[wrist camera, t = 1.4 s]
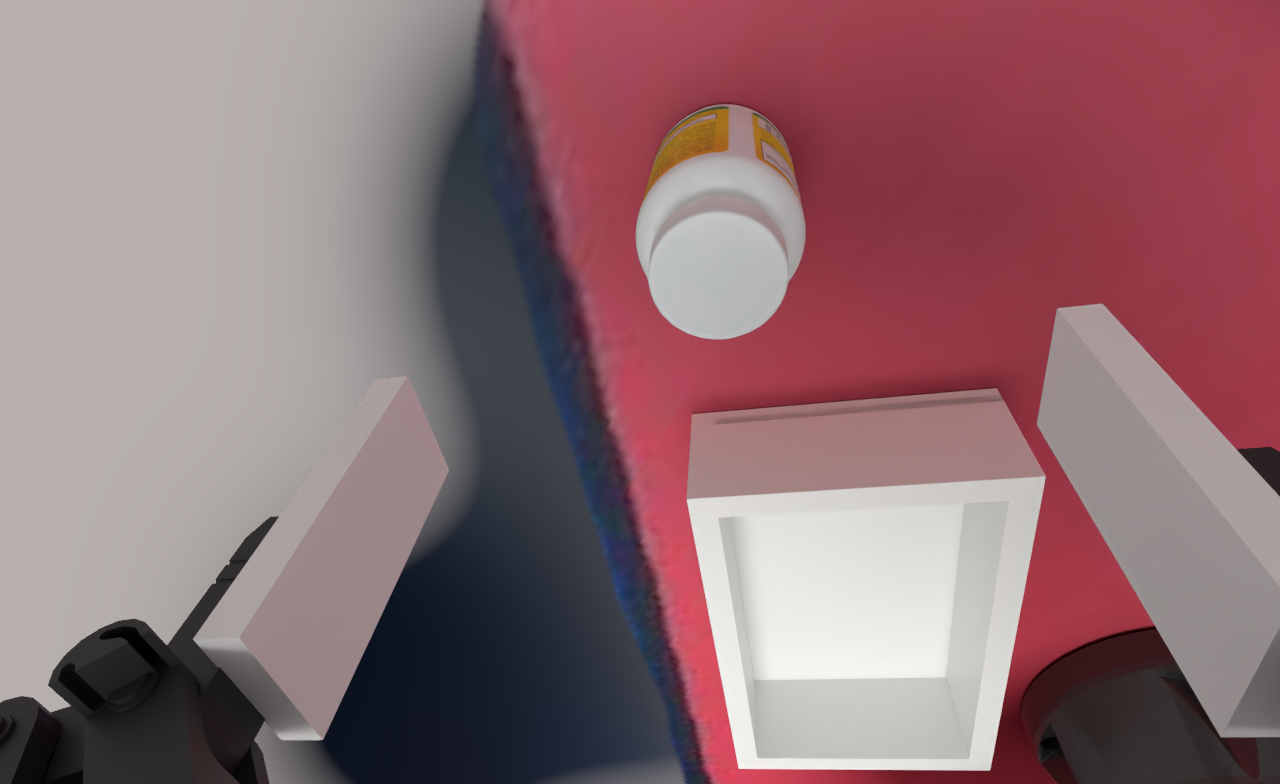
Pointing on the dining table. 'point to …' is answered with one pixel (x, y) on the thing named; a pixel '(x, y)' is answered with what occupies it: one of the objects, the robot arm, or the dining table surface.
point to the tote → (864, 575)
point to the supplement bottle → (721, 222)
